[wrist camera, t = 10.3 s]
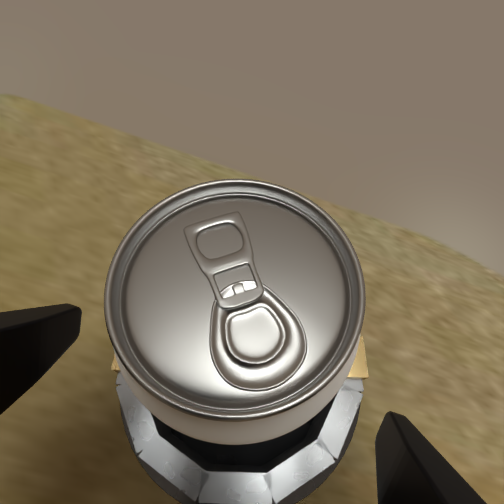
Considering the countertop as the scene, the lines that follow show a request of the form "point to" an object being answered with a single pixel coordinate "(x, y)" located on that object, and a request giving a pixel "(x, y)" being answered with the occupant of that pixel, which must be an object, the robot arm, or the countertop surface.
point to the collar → (245, 451)
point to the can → (235, 310)
